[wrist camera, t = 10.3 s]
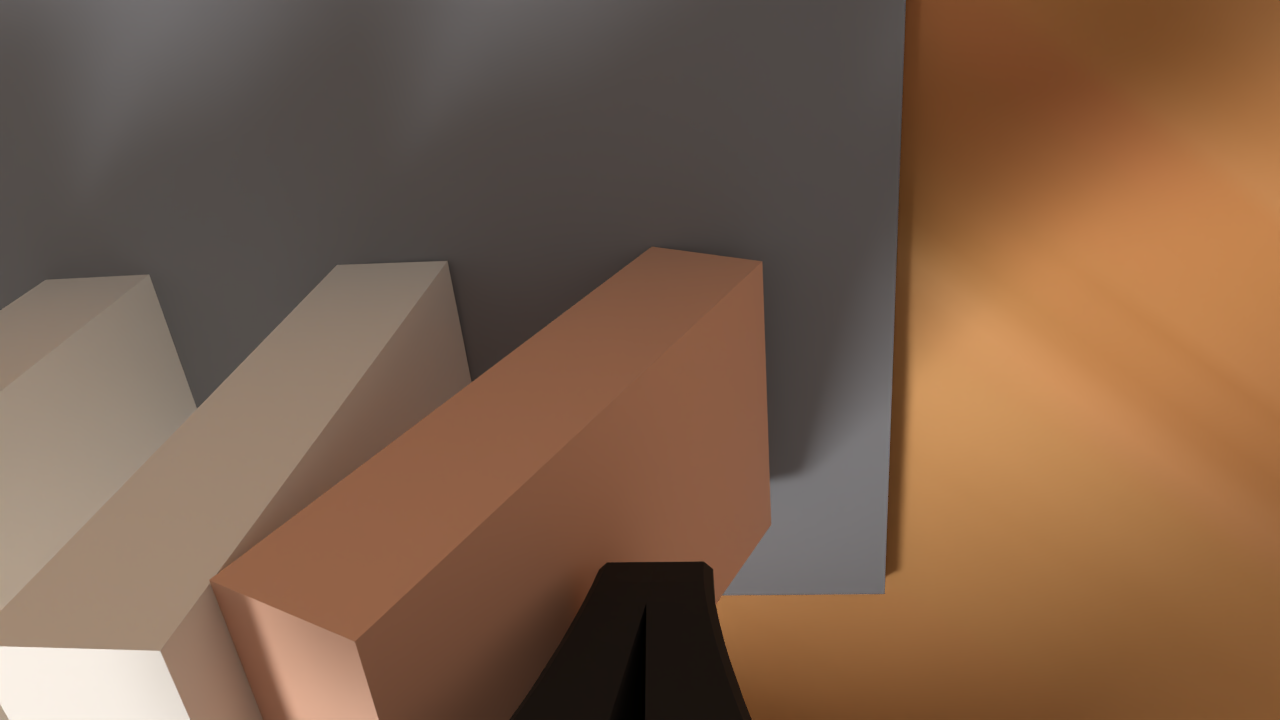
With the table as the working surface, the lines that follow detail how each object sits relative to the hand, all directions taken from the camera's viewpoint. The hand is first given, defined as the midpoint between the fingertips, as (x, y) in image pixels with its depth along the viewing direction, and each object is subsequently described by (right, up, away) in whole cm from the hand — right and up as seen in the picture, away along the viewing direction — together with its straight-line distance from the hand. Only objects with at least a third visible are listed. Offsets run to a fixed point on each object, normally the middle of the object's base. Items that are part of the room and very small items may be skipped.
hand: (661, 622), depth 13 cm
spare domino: (+1, +3, +5) cm, 6 cm away
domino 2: (-4, +3, +6) cm, 8 cm away
